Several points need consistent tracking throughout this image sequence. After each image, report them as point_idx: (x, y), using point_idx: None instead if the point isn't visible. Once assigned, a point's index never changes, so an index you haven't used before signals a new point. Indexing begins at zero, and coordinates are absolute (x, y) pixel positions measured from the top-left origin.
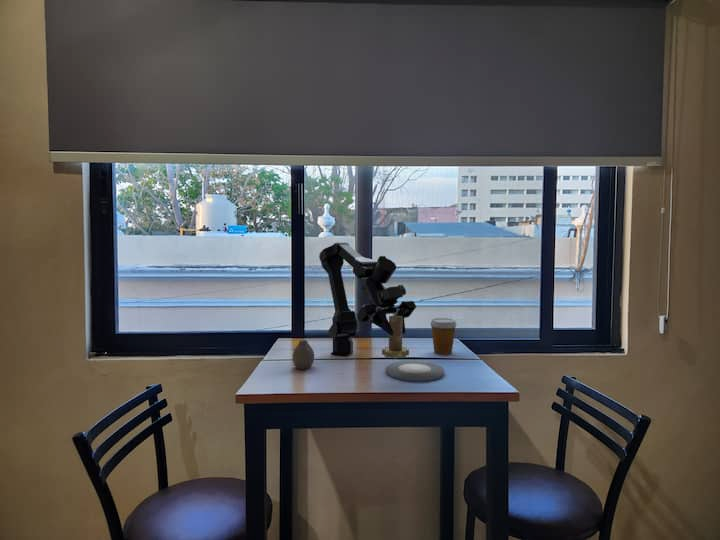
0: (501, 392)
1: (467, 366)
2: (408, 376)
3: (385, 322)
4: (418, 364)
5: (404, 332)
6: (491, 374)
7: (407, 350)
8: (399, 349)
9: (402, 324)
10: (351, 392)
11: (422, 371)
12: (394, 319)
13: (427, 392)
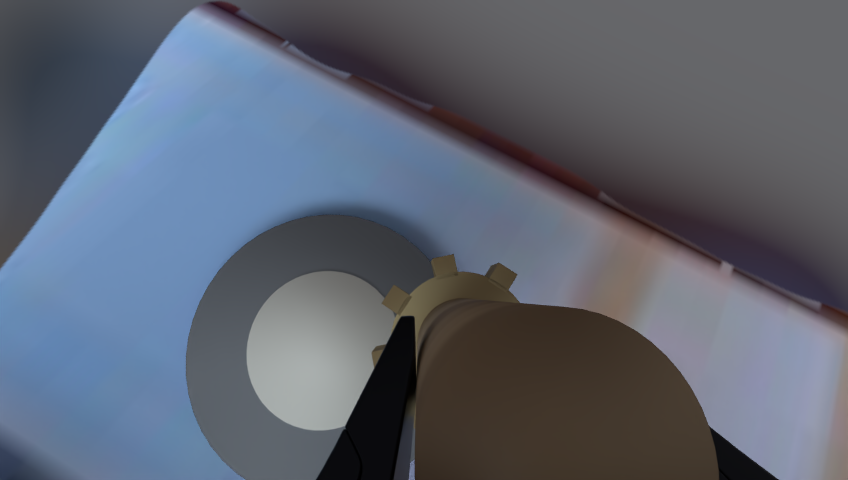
0: (225, 18)
1: (55, 306)
2: (420, 263)
3: (721, 436)
4: (266, 393)
5: (412, 316)
6: (76, 168)
7: (401, 290)
8: (460, 298)
9: (401, 389)
10: (680, 251)
11: (327, 286)
12: (636, 344)
13: (438, 126)
